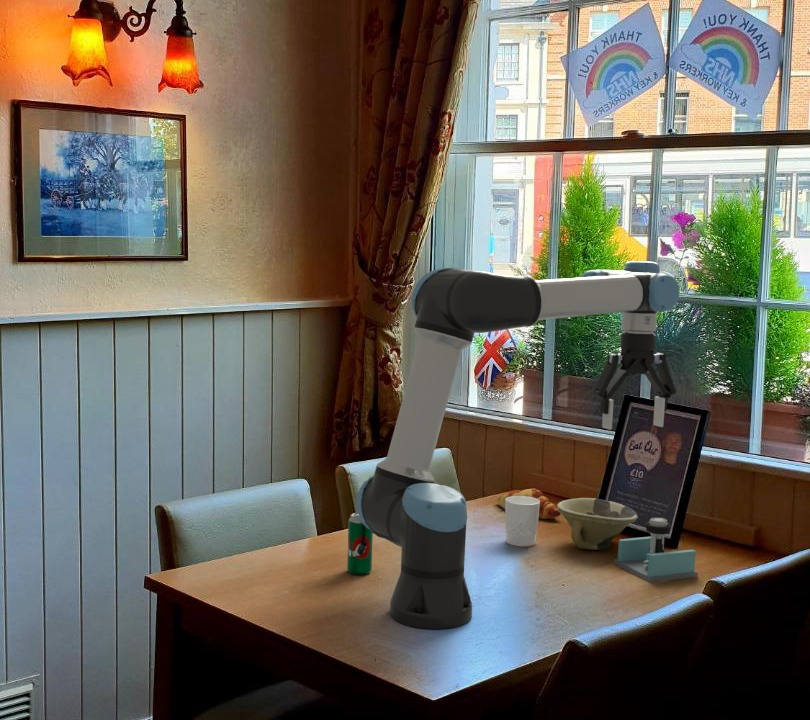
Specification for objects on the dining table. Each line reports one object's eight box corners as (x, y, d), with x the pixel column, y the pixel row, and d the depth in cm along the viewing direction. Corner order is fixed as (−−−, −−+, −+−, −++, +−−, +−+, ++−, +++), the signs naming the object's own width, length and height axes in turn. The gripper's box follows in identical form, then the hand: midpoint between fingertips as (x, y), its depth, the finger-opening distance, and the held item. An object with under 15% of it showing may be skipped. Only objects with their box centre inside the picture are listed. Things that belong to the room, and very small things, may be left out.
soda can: (376, 572, 219) (378, 515, 217) (359, 577, 215) (360, 520, 214) (359, 566, 222) (361, 510, 221) (341, 571, 218) (343, 515, 217)
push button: (654, 571, 222) (657, 525, 221) (633, 565, 226) (636, 519, 225) (673, 566, 226) (676, 520, 225) (653, 559, 230) (656, 515, 229)
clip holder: (650, 582, 218) (651, 556, 217) (614, 563, 230) (615, 539, 229) (697, 576, 223) (699, 551, 222) (659, 558, 235) (661, 534, 234)
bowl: (602, 564, 230) (605, 521, 228) (540, 543, 243) (542, 503, 242) (651, 550, 241) (653, 509, 240) (588, 531, 255) (591, 492, 253)
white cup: (543, 541, 245) (545, 499, 244) (528, 549, 238) (530, 506, 237) (513, 535, 249) (515, 494, 248) (497, 543, 242) (499, 500, 241)
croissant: (489, 518, 276) (480, 494, 273) (512, 496, 282) (504, 472, 279) (553, 535, 261) (544, 510, 258) (576, 511, 266) (567, 486, 263)
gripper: (599, 333, 224) (594, 432, 226) (695, 333, 234) (689, 427, 236) (580, 330, 231) (575, 426, 233) (674, 329, 241) (668, 421, 243)
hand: (632, 427), depth 235 cm, fingers open, 13 cm apart
